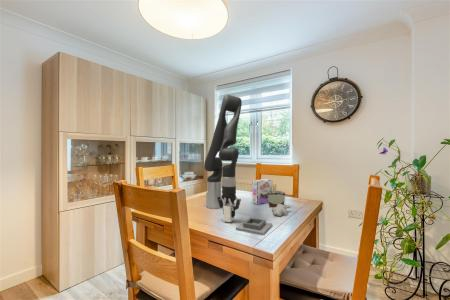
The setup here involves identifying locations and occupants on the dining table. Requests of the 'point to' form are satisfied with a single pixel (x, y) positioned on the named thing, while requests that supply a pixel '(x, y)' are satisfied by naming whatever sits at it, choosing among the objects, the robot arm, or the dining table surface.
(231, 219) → the plug
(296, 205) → the dining table surface
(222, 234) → the dining table surface
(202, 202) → the dining table surface
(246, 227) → the socket plate
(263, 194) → the candy box
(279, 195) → the food container
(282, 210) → the bunny figurine
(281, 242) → the dining table surface
